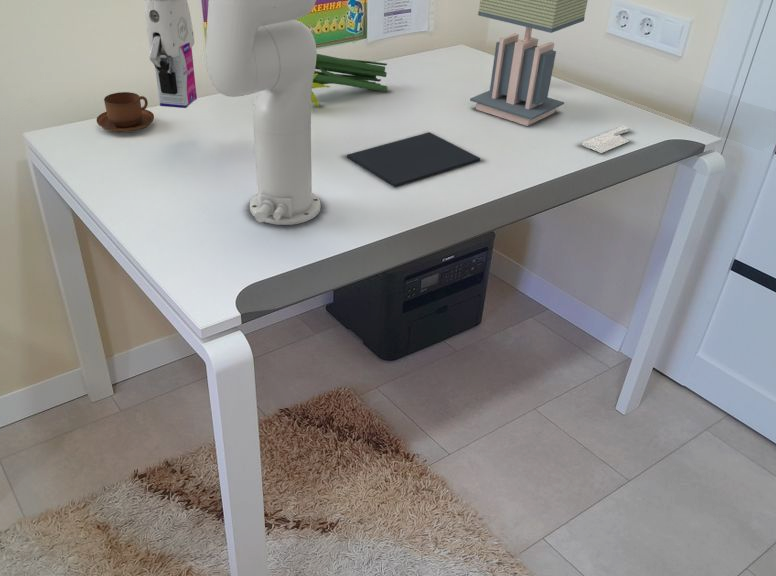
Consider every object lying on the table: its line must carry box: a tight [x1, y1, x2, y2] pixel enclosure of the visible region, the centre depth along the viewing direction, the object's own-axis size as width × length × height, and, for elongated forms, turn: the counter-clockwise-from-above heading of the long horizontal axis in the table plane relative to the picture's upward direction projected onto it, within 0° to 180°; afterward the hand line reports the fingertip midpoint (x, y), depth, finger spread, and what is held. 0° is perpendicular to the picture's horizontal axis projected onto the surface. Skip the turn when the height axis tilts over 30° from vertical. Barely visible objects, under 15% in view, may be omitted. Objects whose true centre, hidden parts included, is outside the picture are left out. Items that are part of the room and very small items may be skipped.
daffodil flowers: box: [311, 53, 388, 107], centre depth 169 cm, size 17×15×35 cm
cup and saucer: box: [96, 91, 155, 133], centre depth 155 cm, size 12×12×6 cm
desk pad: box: [346, 131, 481, 188], centre depth 147 cm, size 22×16×1 cm
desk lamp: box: [469, 0, 589, 127], centre depth 160 cm, size 18×14×33 cm
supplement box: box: [154, 43, 198, 109], centre depth 140 cm, size 6×6×12 cm
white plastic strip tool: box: [581, 125, 630, 154], centre depth 157 cm, size 5×15×1 cm, turn 130°
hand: (177, 86), depth 142 cm, fingers closed on supplement box, 5 cm apart
